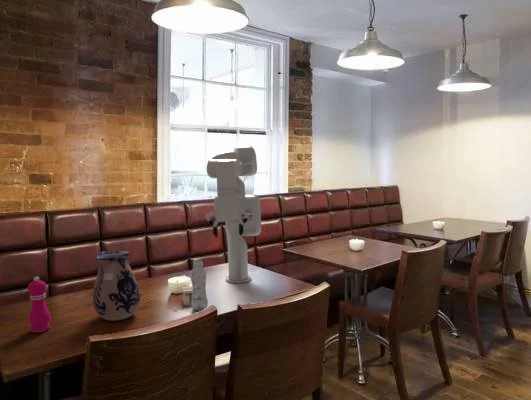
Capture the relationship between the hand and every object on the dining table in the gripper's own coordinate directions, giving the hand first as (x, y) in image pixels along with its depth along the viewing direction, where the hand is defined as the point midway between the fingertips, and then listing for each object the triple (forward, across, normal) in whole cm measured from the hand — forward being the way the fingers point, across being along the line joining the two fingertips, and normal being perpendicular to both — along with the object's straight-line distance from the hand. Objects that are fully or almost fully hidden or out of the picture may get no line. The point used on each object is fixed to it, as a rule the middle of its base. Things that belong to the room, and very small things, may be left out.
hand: (228, 235), depth 165 cm
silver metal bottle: (+31, +12, -6) cm, 33 cm away
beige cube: (+31, +15, -16) cm, 38 cm away
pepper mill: (+31, +70, -3) cm, 76 cm away
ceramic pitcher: (+31, +45, -9) cm, 55 cm away
